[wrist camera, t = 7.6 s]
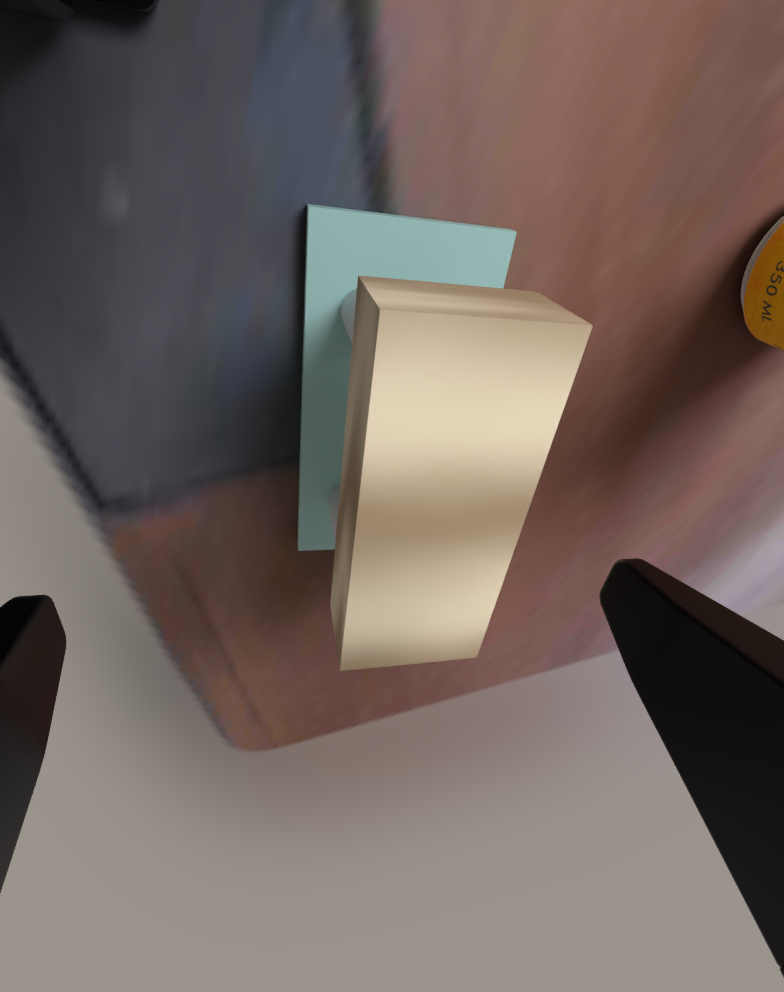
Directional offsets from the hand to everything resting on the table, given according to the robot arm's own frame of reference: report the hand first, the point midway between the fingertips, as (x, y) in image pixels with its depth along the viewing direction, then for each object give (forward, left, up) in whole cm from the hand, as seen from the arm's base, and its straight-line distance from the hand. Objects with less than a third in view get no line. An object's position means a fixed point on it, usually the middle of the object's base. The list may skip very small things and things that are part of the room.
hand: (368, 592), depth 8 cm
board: (+3, +3, -8) cm, 9 cm away
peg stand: (+3, +3, -13) cm, 14 cm away
